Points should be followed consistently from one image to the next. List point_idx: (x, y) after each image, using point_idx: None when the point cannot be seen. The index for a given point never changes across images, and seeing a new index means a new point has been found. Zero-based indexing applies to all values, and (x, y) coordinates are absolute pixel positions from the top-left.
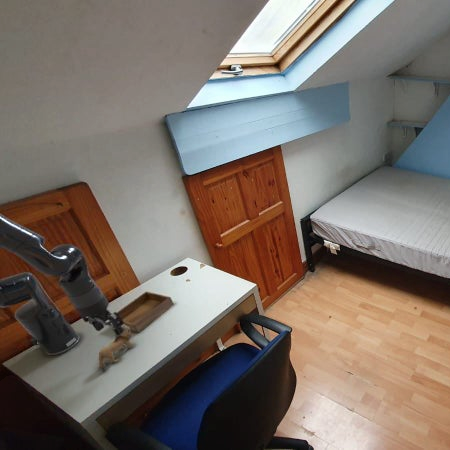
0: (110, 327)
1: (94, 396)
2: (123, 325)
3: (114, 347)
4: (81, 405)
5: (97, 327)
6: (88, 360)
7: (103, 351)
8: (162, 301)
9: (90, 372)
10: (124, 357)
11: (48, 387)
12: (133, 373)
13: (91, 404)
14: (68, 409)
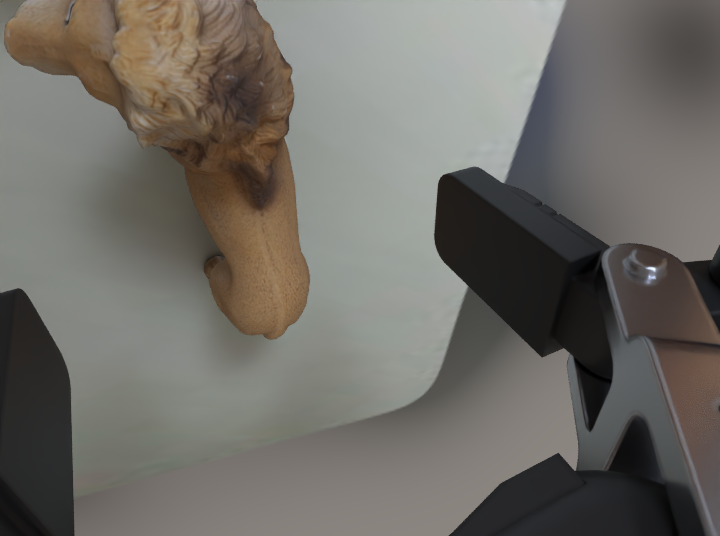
0: (571, 395)
1: (381, 353)
2: (181, 11)
3: (297, 226)
4: (367, 394)
5: (60, 427)
6: None
7: (292, 318)
8: None
9: (181, 328)
10: None
11: None
12: None
13: (406, 369)
14: (330, 427)
